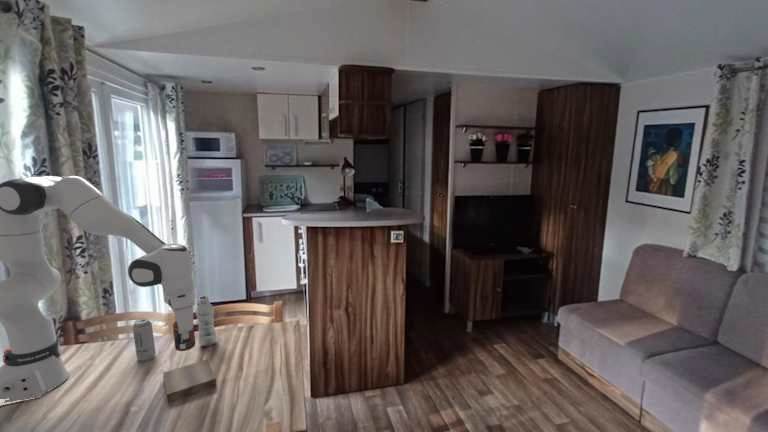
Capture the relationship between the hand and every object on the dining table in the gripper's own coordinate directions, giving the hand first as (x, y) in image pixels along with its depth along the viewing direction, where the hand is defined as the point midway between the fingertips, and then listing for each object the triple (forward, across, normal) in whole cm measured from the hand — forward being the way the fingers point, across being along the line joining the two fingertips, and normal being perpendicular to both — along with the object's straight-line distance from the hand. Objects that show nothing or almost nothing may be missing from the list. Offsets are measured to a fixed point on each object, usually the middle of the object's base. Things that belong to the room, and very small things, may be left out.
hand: (184, 333), depth 122 cm
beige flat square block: (+18, 0, 0) cm, 18 cm away
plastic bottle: (+18, -24, +10) cm, 32 cm away
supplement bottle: (+5, 0, 0) cm, 5 cm away
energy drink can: (+18, -27, -11) cm, 34 cm away
